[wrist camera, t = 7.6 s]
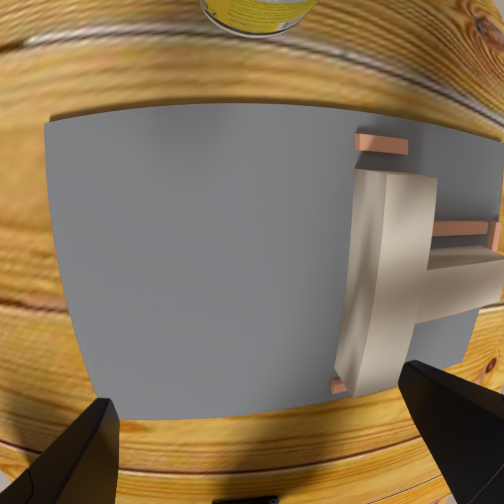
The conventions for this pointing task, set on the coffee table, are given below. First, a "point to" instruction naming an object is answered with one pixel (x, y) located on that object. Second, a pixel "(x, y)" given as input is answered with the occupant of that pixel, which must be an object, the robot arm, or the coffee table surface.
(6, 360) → the coffee table surface
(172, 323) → the mat
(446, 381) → the robot arm
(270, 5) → the supplement bottle
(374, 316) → the t block
